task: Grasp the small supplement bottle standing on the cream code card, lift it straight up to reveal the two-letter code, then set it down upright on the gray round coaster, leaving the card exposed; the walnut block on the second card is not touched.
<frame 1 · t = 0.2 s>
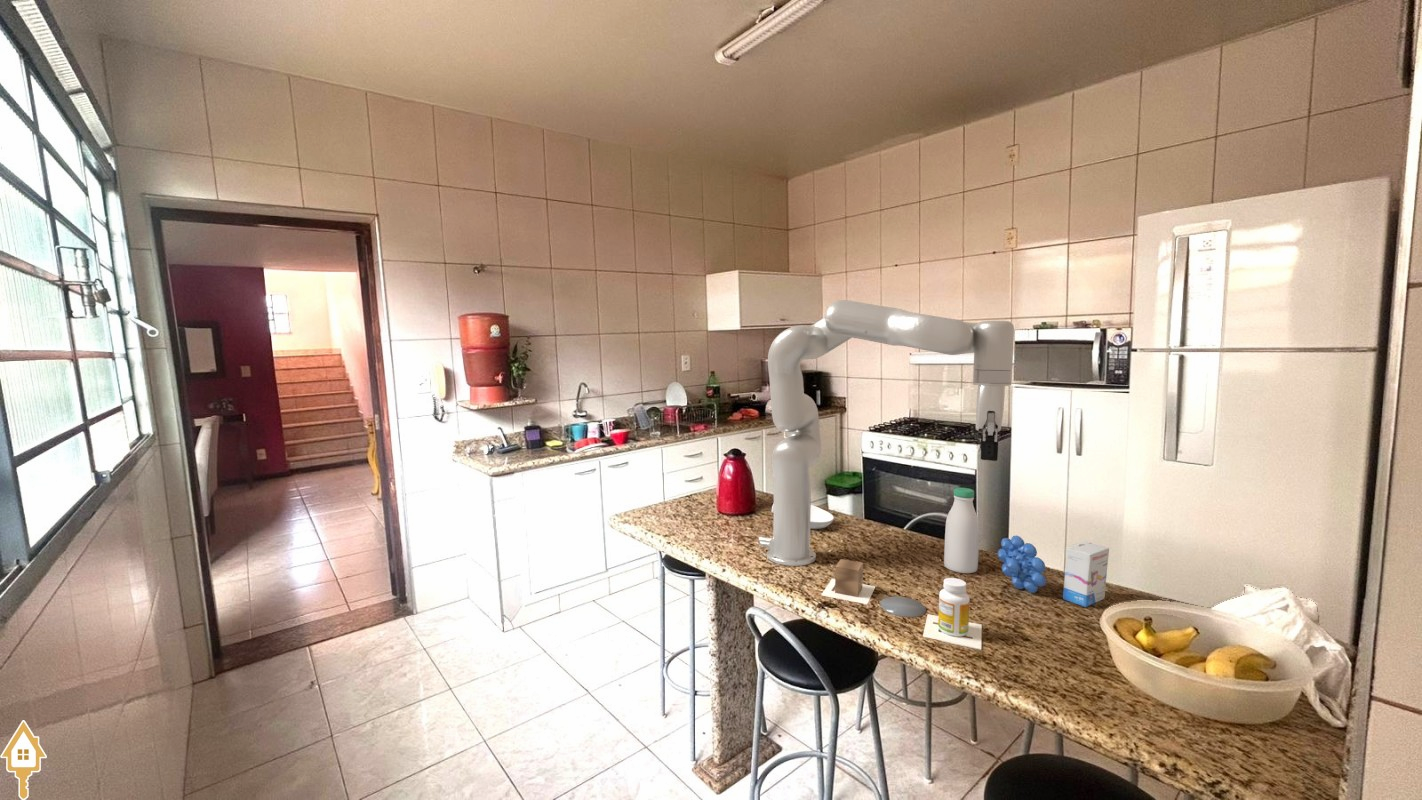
hand: (988, 456, 124), 31 cm above the counter, fingers open, 9 cm apart
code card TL: (952, 631, 109), on the counter
gray round coaster: (902, 608, 119), on the counter
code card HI: (848, 591, 126), on the counter
supplement bottle: (952, 631, 109), resting on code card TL
ink box: (1084, 600, 123), on the counter
milk bottle: (960, 568, 140), on the counter
walnut block: (848, 590, 126), resting on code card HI
grapes: (1016, 590, 128), on the counter
spoon rest: (800, 522, 178), on the counter
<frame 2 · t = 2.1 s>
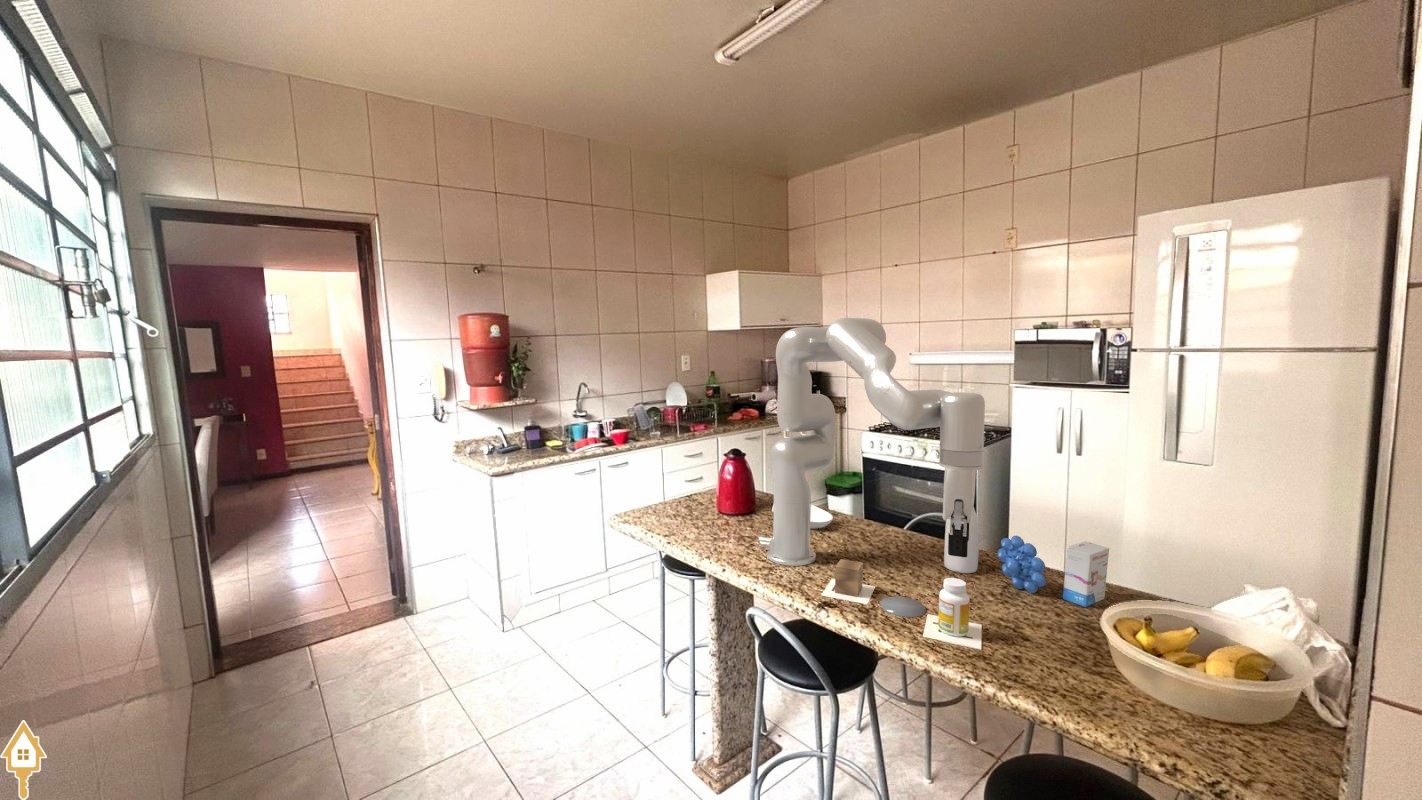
hand: (958, 547, 107), 17 cm above the counter, fingers open, 9 cm apart
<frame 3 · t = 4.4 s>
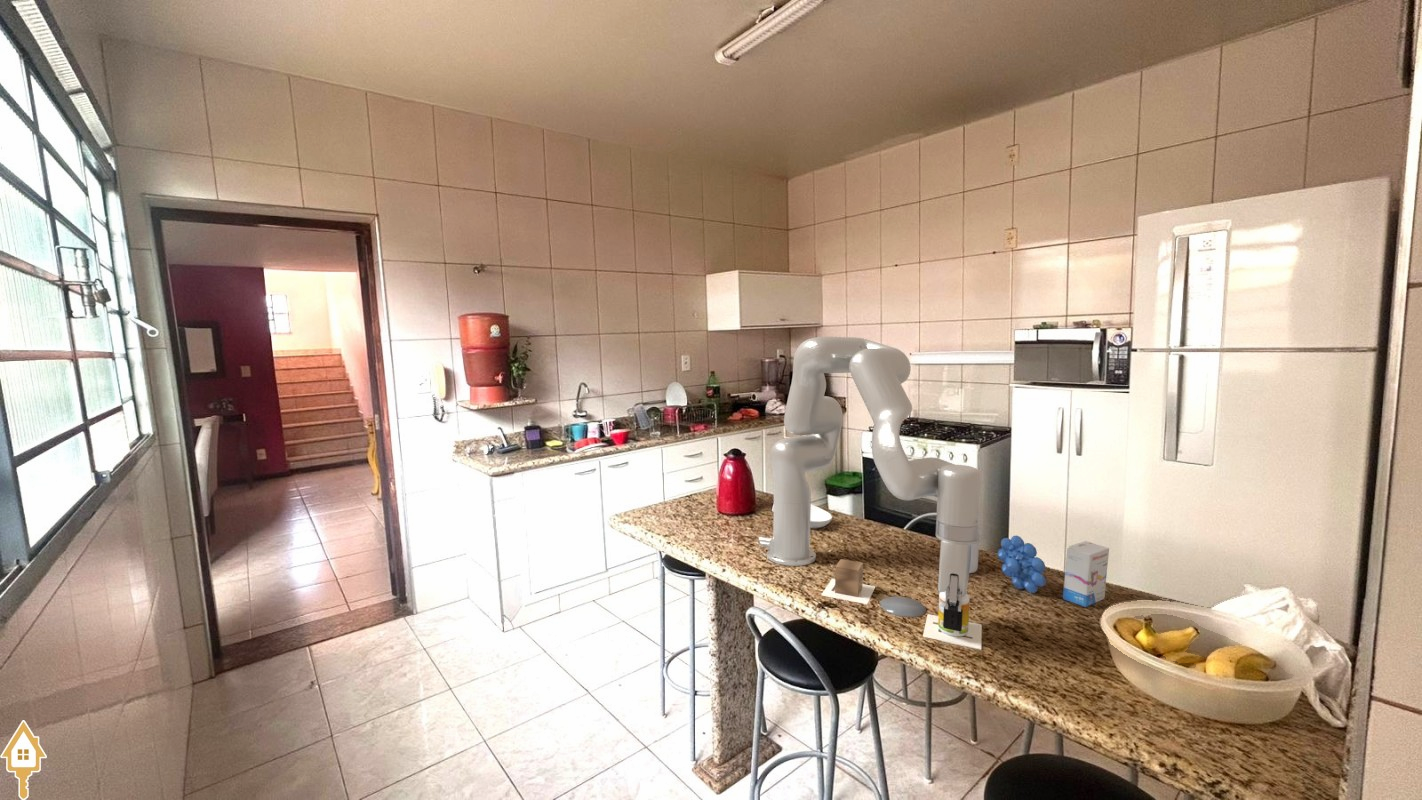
hand: (953, 621, 109), 2 cm above the counter, fingers closed on supplement bottle, 5 cm apart
supplement bottle: (952, 631, 109), resting on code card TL, touching gripper
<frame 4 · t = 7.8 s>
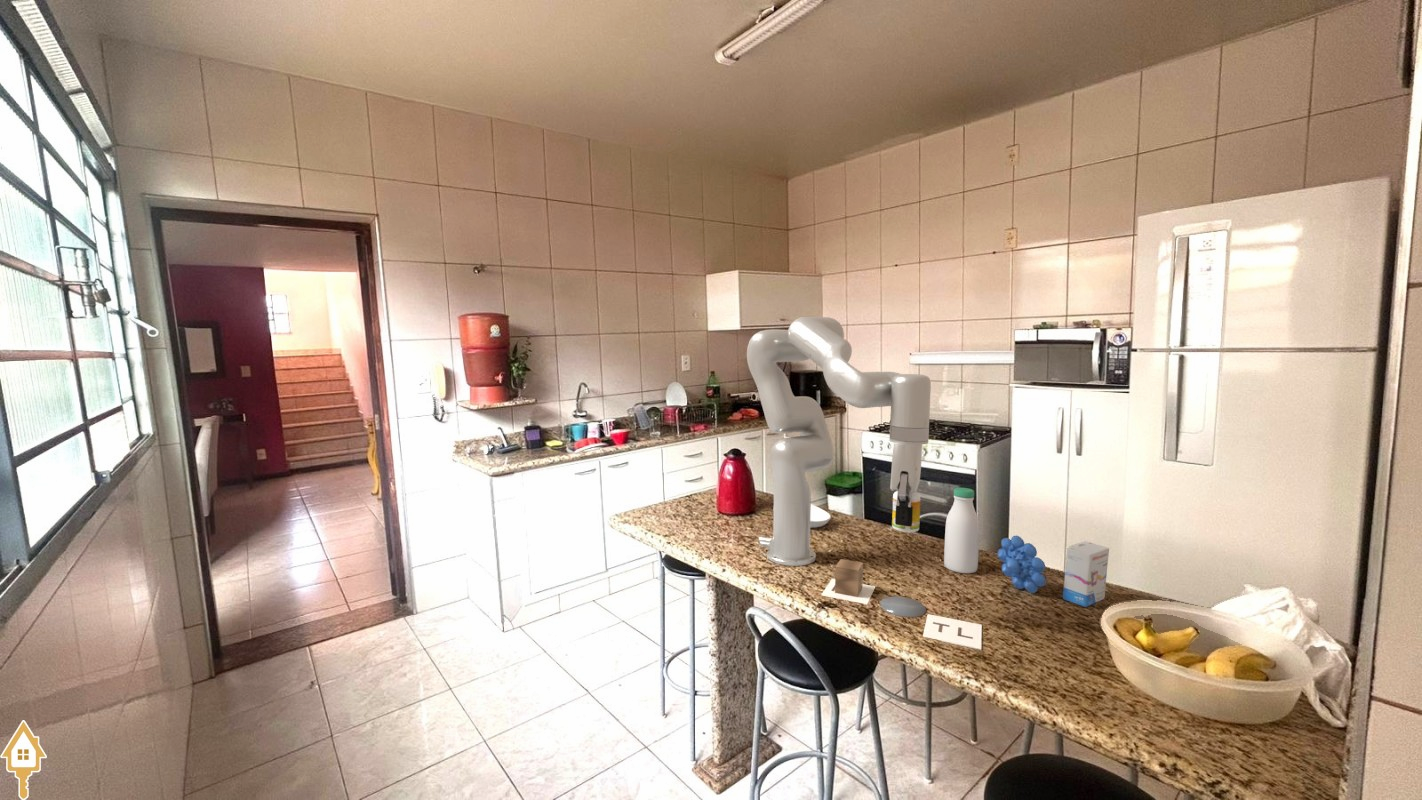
hand: (905, 520, 117), 19 cm above the counter, fingers closed on supplement bottle, 5 cm apart
supplement bottle: (905, 529, 117), point 17 cm above the counter, touching gripper
when the fingers open (4 cm above the counter, at t = 11.4 s): supplement bottle drops 1 cm, resting on gray round coaster.
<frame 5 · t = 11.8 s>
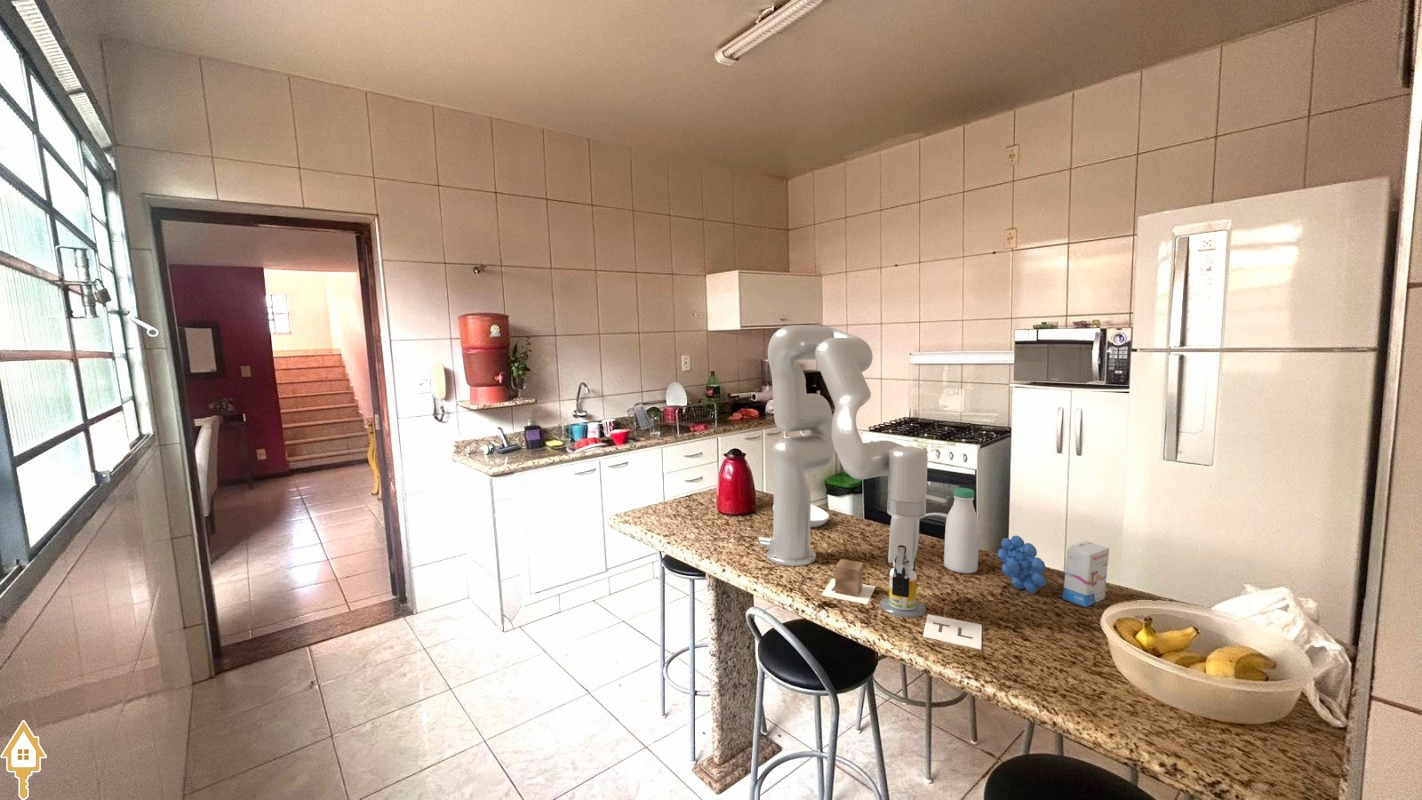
hand: (903, 586, 118), 5 cm above the counter, fingers open, 9 cm apart
supplement bottle: (902, 606, 119), resting on gray round coaster
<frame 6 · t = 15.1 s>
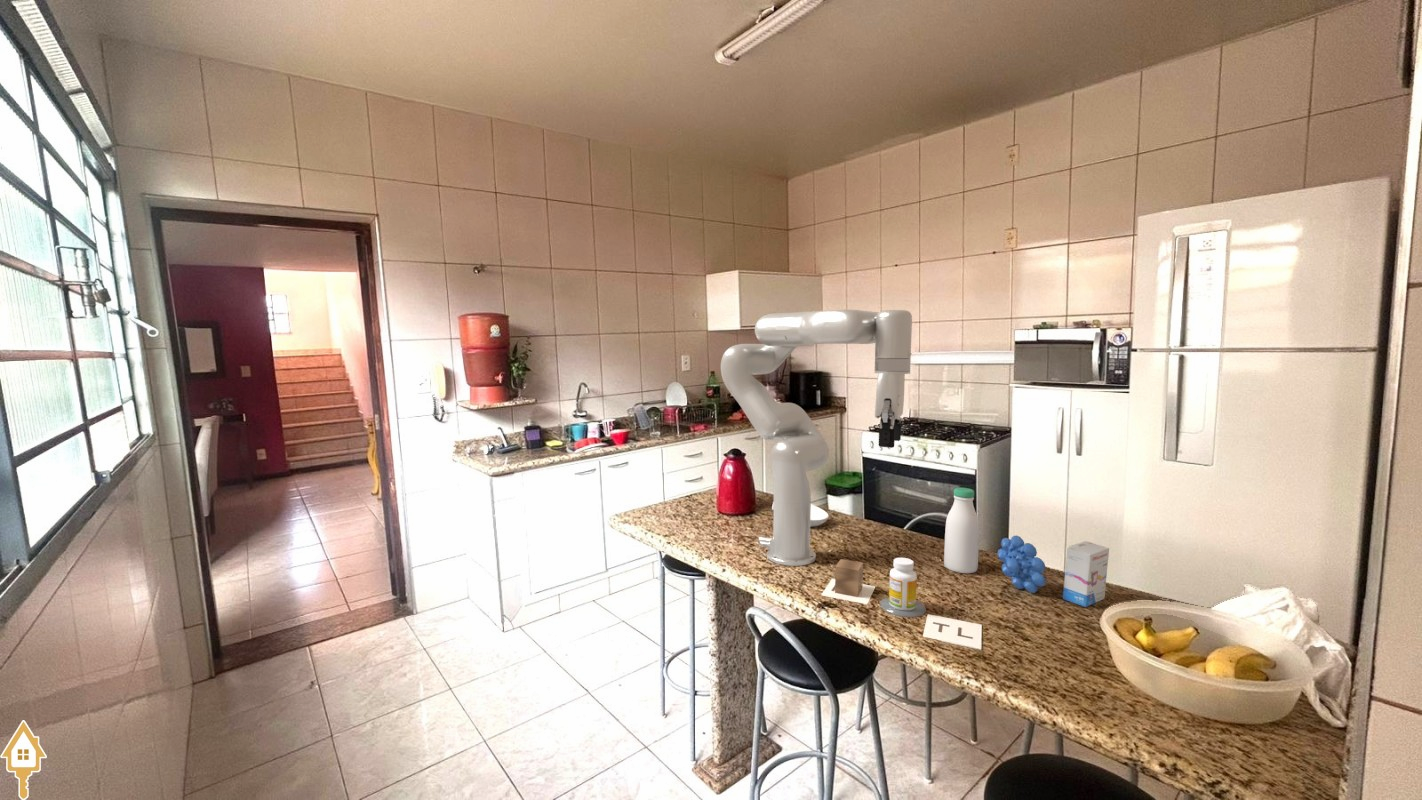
hand: (889, 443, 126), 33 cm above the counter, fingers open, 9 cm apart
at the end: supplement bottle inside the target area on the gray round coaster (0.1 cm from its centre), point 0.3 cm above the gray round coaster's base; supplement bottle tilted 0°; supplement bottle moved 11.8 cm from its start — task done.
